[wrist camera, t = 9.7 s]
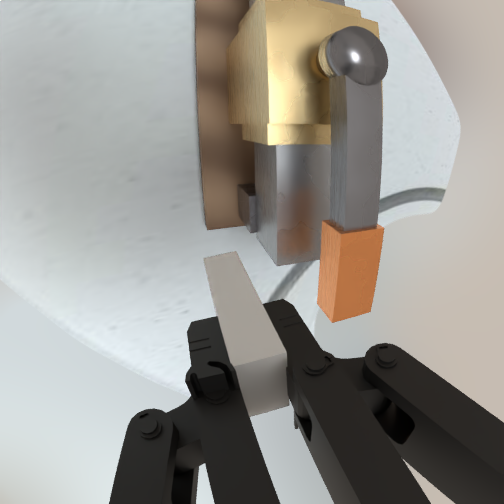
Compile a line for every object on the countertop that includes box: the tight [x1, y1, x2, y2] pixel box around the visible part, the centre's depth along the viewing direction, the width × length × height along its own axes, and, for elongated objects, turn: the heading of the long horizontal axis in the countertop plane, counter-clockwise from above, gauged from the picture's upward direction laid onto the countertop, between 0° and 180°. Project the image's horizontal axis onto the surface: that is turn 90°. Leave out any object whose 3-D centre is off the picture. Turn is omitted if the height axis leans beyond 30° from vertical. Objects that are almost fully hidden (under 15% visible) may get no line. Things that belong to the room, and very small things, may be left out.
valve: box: [226, 0, 383, 266], centre depth 17 cm, size 25×7×13 cm, turn 2°
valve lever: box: [317, 26, 388, 323], centre depth 13 cm, size 15×3×2 cm, turn 3°
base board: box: [195, 0, 255, 230], centre depth 24 cm, size 26×12×2 cm, turn 2°
